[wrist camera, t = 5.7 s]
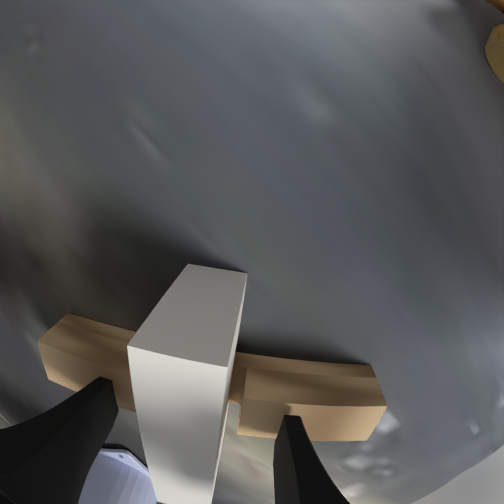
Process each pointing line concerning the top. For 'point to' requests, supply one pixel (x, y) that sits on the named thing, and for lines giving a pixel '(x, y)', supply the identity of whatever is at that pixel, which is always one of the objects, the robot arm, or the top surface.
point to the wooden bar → (242, 382)
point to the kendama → (496, 44)
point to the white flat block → (187, 380)
